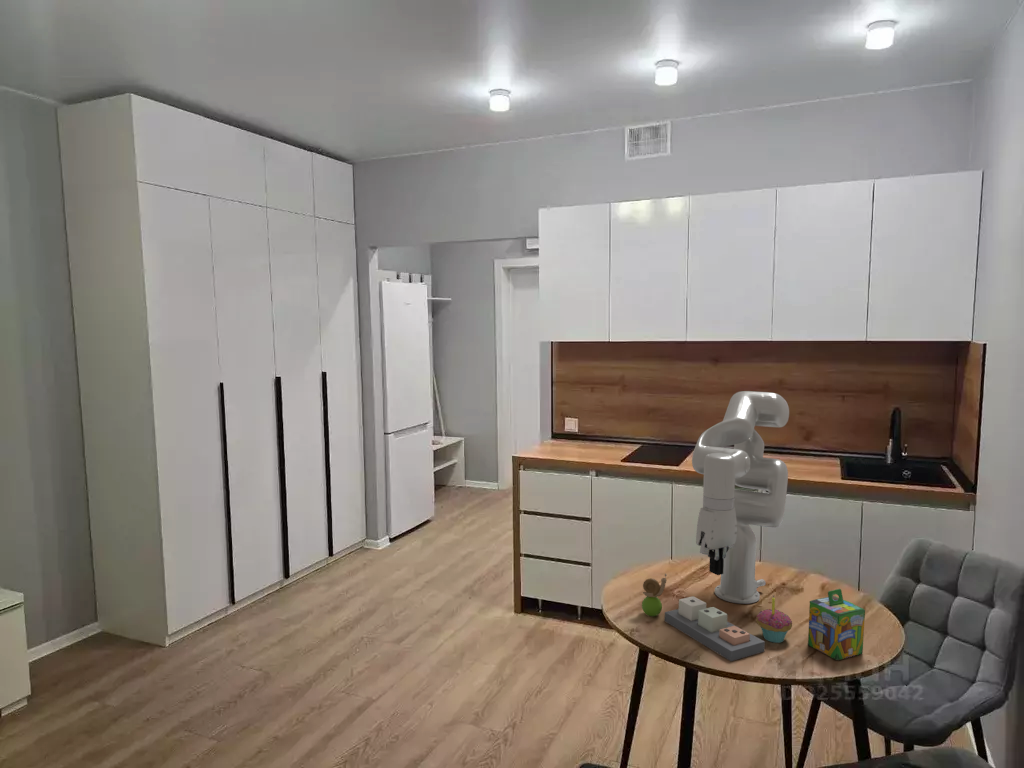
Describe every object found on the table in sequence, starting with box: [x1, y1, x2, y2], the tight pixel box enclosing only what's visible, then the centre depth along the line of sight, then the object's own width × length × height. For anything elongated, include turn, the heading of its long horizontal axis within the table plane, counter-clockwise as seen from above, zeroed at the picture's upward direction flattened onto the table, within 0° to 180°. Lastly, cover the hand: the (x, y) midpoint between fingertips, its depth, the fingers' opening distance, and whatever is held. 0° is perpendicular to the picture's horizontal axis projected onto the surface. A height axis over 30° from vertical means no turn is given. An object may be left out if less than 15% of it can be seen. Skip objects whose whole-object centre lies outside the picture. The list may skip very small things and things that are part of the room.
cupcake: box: [755, 595, 793, 644], centre depth 169 cm, size 9×8×12 cm
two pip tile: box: [698, 606, 728, 633], centre depth 171 cm, size 5×5×4 cm
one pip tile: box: [678, 596, 707, 621], centre depth 177 cm, size 5×5×4 cm
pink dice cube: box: [719, 625, 751, 646], centre depth 164 cm, size 5×5×4 cm
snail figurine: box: [641, 573, 667, 617], centre depth 182 cm, size 5×6×12 cm
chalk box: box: [807, 588, 866, 661], centre depth 164 cm, size 9×9×15 cm
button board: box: [664, 608, 766, 662], centre depth 171 cm, size 24×11×2 cm, turn 27°
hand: (716, 572), depth 169 cm, fingers closed
